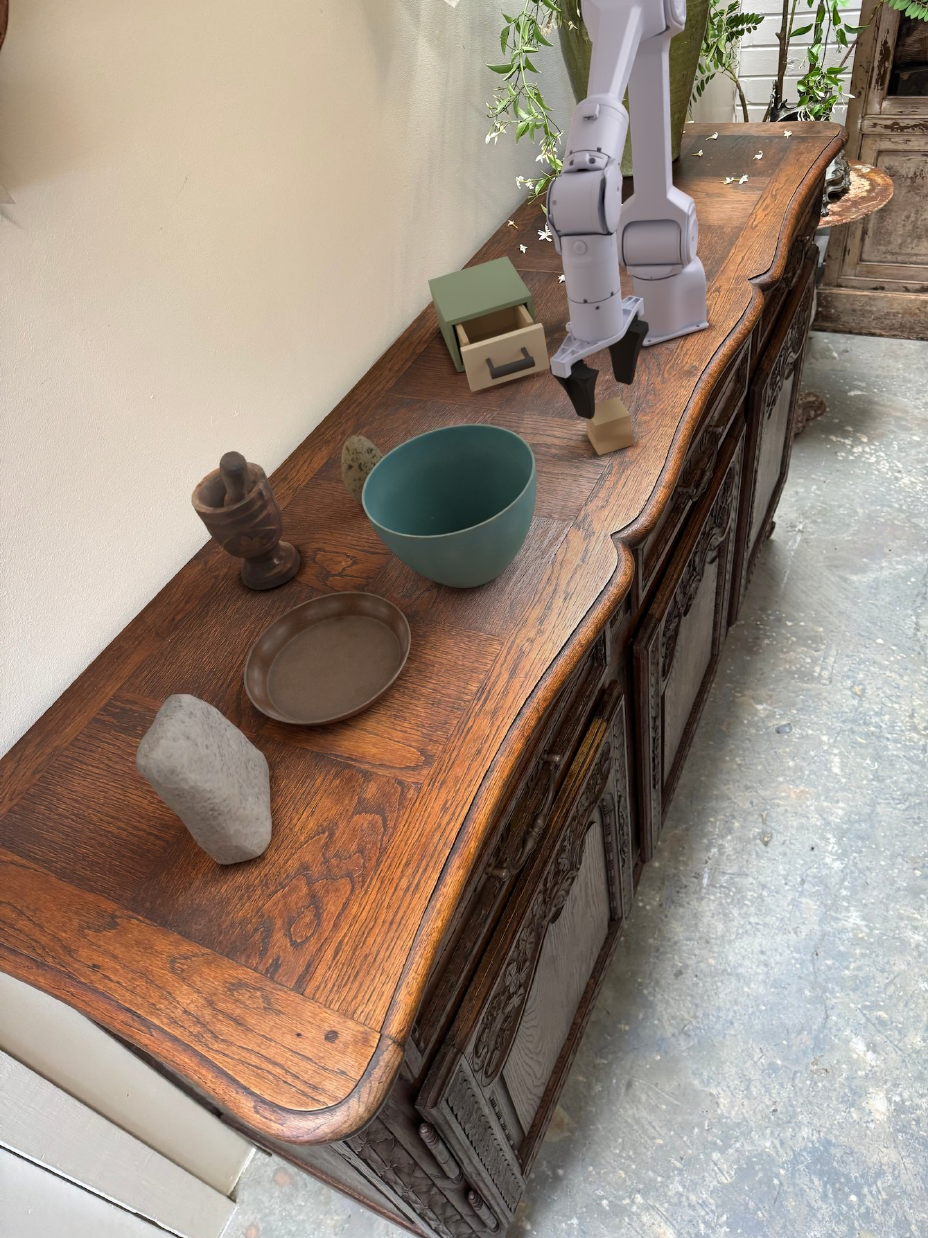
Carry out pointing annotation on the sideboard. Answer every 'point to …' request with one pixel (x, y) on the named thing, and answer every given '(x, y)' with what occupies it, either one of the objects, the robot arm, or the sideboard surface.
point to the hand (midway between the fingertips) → (605, 398)
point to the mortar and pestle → (246, 521)
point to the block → (610, 426)
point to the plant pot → (454, 502)
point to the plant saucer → (327, 658)
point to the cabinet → (476, 297)
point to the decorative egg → (358, 464)
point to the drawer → (501, 347)
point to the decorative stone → (209, 778)
